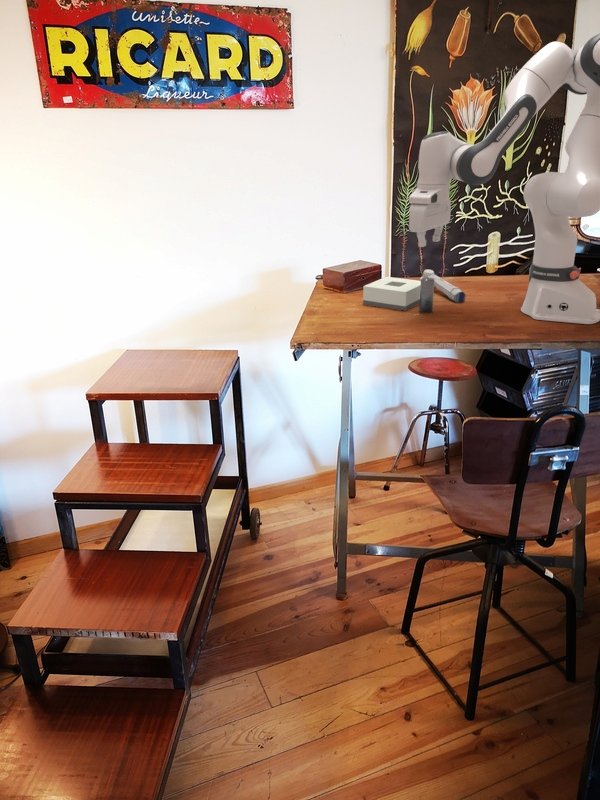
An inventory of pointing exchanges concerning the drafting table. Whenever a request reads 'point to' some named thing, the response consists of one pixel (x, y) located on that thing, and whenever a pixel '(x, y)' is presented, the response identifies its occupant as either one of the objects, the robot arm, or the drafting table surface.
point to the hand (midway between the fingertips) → (429, 243)
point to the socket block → (392, 293)
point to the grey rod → (445, 287)
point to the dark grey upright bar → (426, 295)
